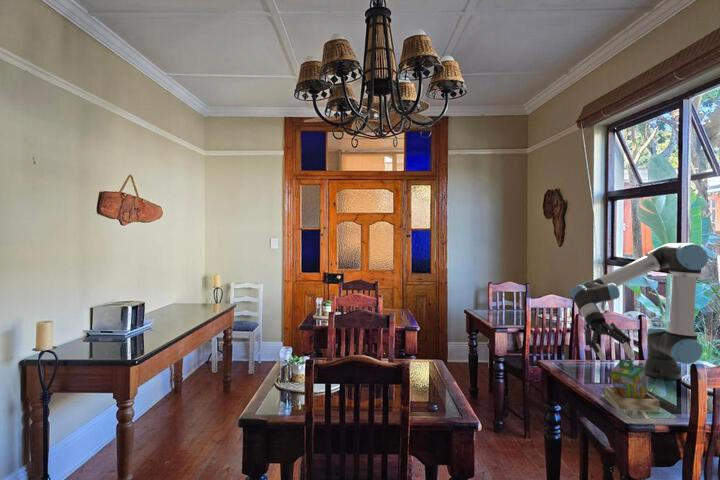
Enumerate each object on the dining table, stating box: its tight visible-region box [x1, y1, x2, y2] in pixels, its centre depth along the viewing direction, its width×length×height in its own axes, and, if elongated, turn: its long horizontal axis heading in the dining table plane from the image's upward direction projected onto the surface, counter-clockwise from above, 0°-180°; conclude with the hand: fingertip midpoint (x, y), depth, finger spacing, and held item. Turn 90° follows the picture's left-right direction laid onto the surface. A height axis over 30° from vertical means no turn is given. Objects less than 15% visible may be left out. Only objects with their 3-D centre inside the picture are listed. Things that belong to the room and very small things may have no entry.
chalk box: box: [609, 358, 649, 399], centre depth 169 cm, size 9×9×15 cm
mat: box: [600, 394, 664, 413], centre depth 170 cm, size 16×16×1 cm
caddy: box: [603, 385, 660, 411], centre depth 170 cm, size 14×14×4 cm
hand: (618, 358), depth 176 cm, fingers open, 13 cm apart
